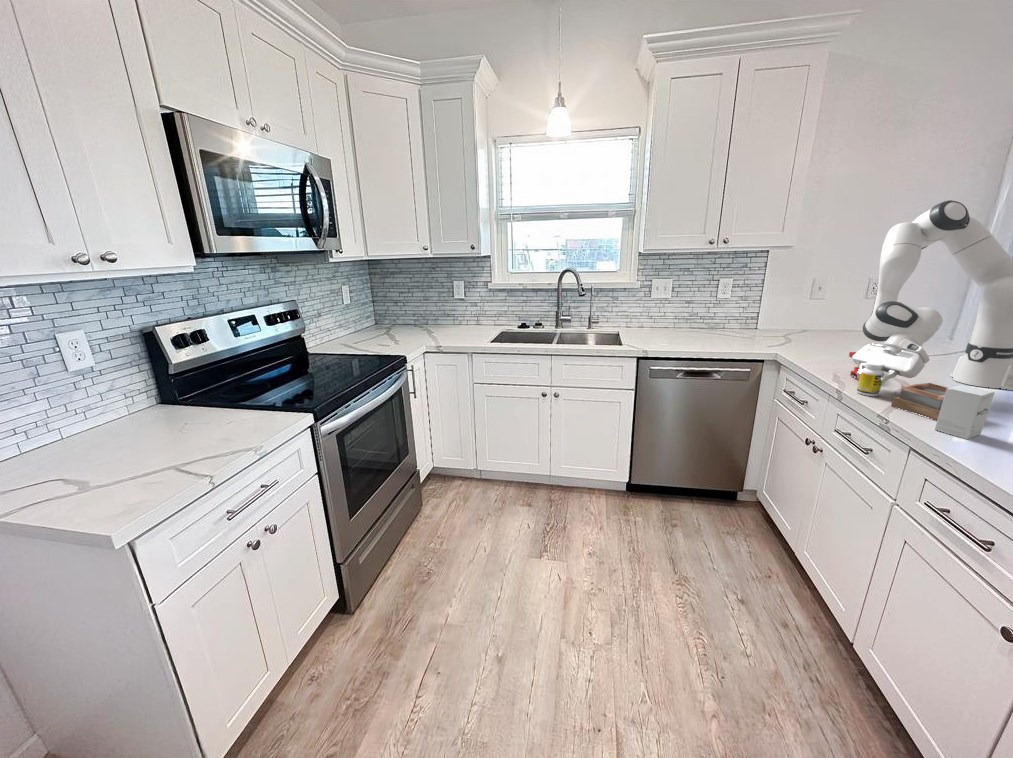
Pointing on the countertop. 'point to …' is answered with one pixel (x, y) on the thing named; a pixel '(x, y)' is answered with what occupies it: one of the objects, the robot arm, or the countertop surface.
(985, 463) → the countertop surface
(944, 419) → the supplement box
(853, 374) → the toy fire truck
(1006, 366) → the robot arm
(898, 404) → the wooden tray
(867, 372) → the pill bottle
